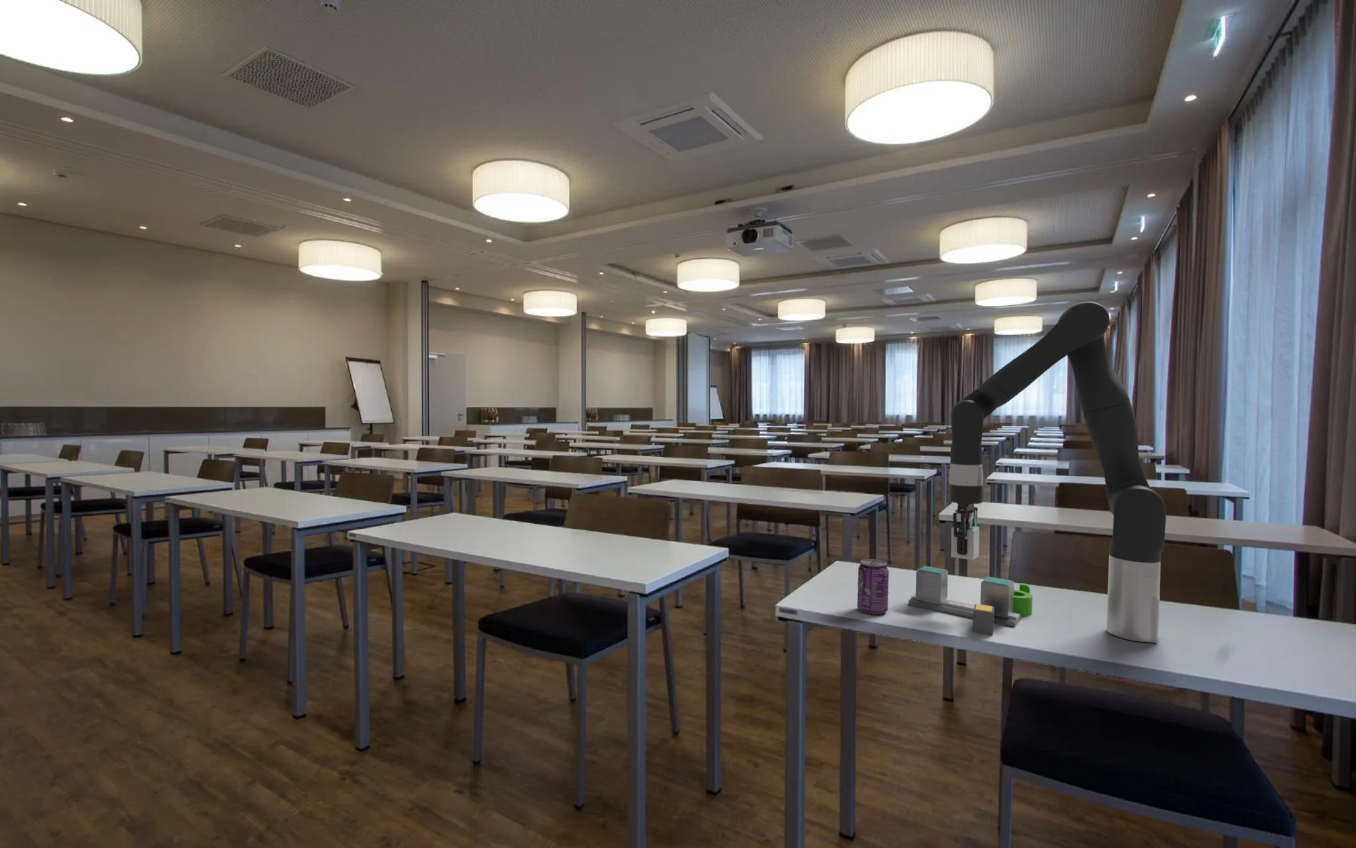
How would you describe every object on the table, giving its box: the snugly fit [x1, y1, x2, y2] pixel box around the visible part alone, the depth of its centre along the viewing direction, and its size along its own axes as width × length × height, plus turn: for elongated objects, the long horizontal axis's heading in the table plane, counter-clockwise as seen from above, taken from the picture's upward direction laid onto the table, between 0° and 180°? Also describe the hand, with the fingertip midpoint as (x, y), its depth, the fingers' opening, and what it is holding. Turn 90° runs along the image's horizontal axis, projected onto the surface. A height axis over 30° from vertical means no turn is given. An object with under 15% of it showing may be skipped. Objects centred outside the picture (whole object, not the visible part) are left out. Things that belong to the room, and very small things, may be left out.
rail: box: [908, 565, 1022, 628], centre depth 152 cm, size 24×7×9 cm, turn 51°
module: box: [950, 525, 980, 561], centre depth 151 cm, size 5×6×7 cm
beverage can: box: [856, 558, 890, 615], centre depth 152 cm, size 7×7×12 cm
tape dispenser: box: [1013, 582, 1033, 617], centre depth 157 cm, size 15×7×5 cm, turn 152°
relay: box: [972, 603, 995, 636], centre depth 140 cm, size 4×5×5 cm
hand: (965, 551), depth 151 cm, fingers closed on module, 5 cm apart
